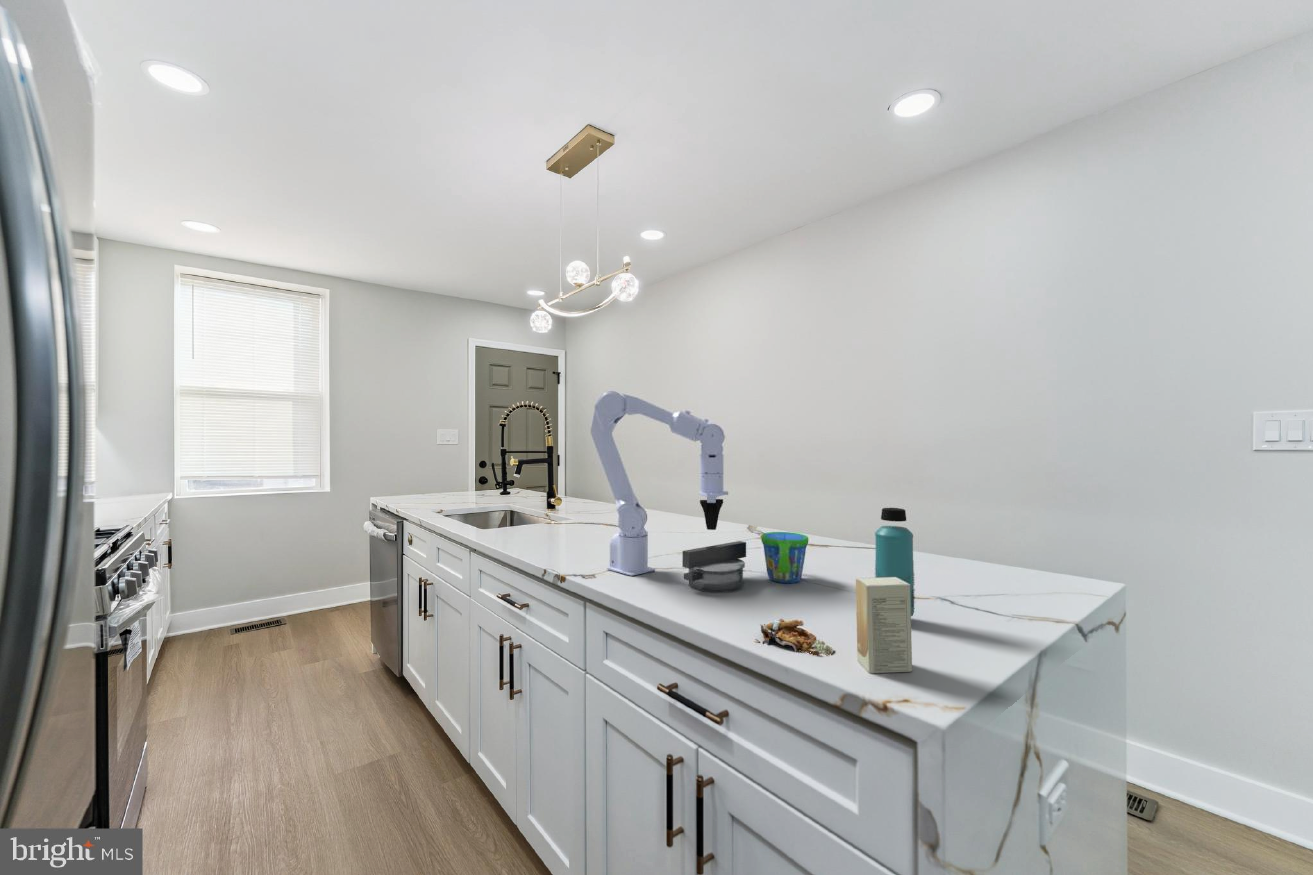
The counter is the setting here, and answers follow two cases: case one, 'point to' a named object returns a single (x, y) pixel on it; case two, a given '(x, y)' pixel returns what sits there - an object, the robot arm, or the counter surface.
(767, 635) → the brown lumpy piece
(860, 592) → the skincare box
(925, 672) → the counter surface
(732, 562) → the lid
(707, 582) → the pot
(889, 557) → the beverage bottle
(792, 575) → the snack cup
